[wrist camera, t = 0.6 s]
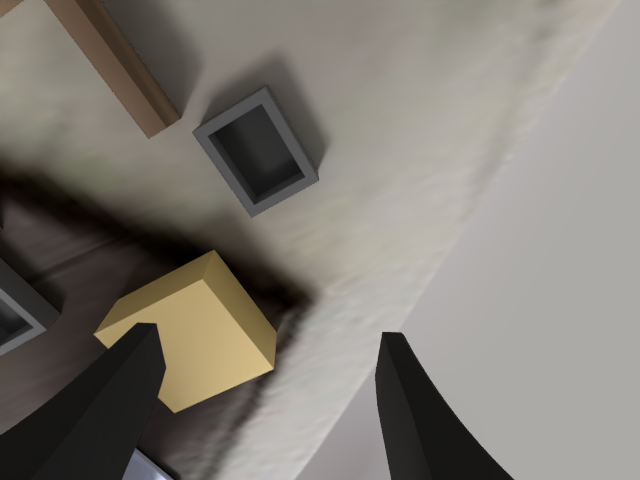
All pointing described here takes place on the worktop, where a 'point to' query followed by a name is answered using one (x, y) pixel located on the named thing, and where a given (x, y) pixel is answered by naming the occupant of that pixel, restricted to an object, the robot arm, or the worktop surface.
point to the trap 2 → (257, 152)
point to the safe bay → (113, 61)
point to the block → (198, 330)
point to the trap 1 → (21, 310)
